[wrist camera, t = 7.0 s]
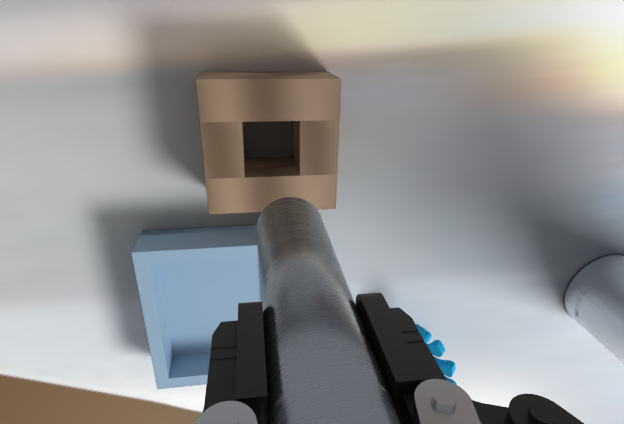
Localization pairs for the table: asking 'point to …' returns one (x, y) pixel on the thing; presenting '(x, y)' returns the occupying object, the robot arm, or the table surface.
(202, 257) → the tray
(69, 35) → the table surface
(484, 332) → the table surface
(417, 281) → the table surface
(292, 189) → the pin block
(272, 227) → the peg
